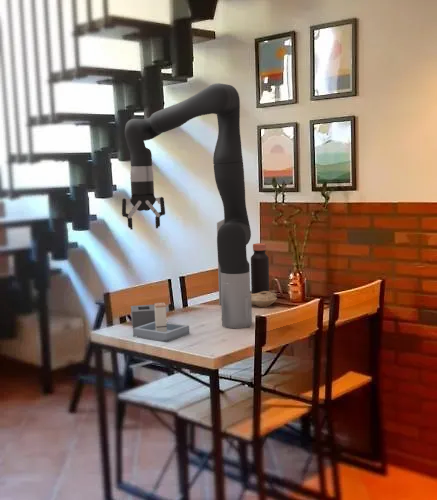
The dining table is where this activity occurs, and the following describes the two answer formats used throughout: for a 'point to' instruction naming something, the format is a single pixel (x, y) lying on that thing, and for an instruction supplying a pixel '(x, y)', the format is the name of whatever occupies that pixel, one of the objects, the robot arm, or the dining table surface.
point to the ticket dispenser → (142, 315)
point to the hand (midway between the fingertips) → (144, 228)
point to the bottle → (259, 269)
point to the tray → (151, 333)
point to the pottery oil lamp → (263, 298)
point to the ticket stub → (160, 317)
